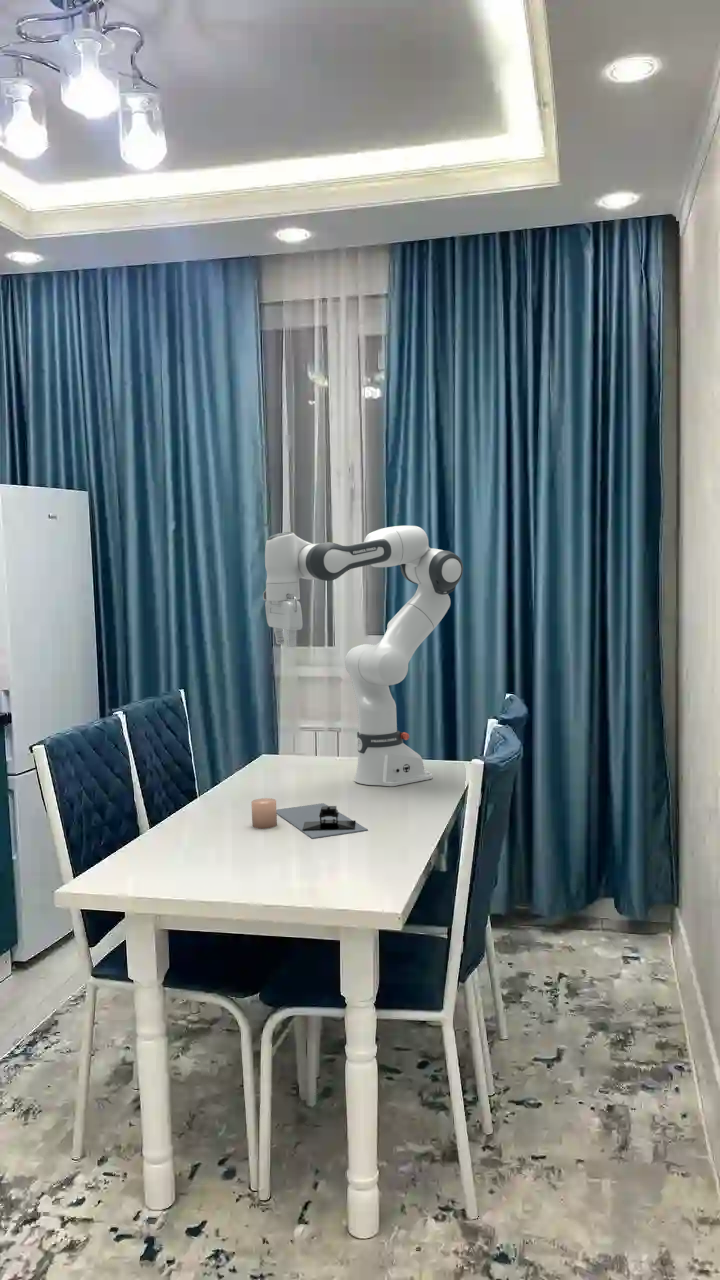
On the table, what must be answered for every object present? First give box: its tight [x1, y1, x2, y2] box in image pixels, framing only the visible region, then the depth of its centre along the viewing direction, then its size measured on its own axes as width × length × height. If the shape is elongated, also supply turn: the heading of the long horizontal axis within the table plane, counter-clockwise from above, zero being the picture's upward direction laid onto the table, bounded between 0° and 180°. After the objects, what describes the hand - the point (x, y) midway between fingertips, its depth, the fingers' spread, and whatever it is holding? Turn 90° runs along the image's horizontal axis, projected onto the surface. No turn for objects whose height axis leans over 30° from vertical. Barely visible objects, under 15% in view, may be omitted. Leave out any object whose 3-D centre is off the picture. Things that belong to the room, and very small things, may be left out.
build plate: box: [301, 805, 357, 832], centre depth 240 cm, size 12×7×5 cm, turn 88°
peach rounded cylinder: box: [250, 797, 278, 830], centre depth 244 cm, size 6×6×6 cm
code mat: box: [276, 802, 368, 840], centre depth 247 cm, size 14×29×1 cm, turn 23°
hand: (285, 645), depth 268 cm, fingers open, 8 cm apart
